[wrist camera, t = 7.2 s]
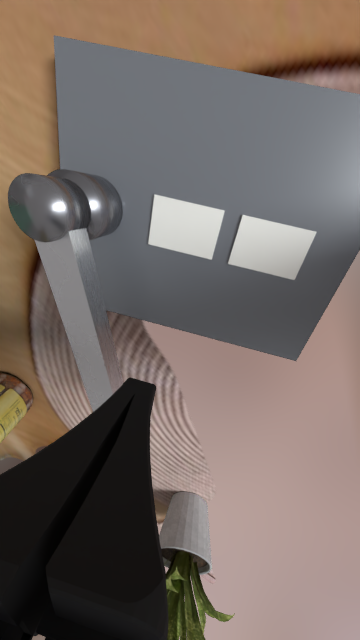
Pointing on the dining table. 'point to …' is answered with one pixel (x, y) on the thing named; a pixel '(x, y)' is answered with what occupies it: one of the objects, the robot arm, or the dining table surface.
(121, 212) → the grooved metal knob
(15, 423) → the sauce bottle
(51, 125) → the dining table surface
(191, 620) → the house plant
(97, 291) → the swing bar
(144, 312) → the label panel
